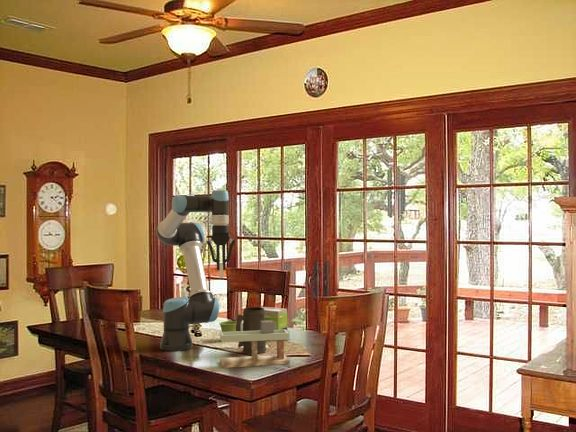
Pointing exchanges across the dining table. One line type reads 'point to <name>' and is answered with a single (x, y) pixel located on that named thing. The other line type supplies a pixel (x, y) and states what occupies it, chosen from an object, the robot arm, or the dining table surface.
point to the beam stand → (257, 358)
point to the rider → (266, 326)
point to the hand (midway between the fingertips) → (221, 277)
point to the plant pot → (228, 326)
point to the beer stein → (251, 327)
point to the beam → (253, 336)
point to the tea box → (277, 317)
